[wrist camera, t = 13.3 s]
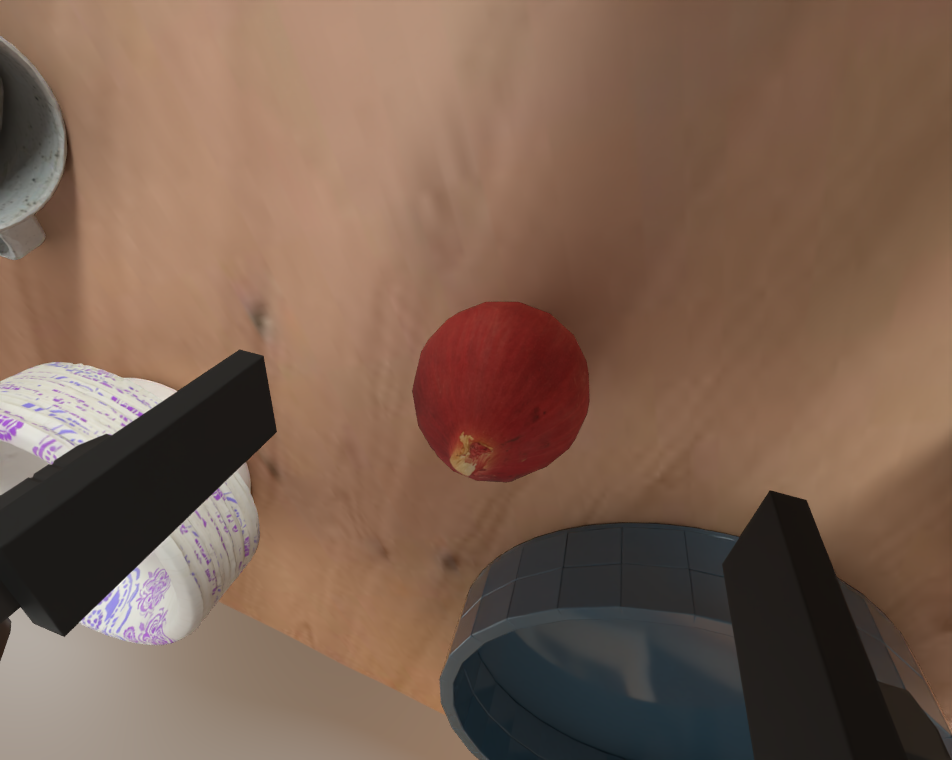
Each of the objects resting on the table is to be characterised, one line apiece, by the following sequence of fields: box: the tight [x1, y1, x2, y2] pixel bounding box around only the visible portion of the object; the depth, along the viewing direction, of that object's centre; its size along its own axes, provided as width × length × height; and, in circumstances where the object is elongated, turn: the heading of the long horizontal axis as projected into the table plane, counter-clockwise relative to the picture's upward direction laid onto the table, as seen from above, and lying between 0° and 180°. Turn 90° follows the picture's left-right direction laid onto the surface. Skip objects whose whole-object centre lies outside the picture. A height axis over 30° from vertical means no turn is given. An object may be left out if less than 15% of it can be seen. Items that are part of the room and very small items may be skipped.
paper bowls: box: [0, 362, 260, 645], centre depth 25 cm, size 15×15×8 cm
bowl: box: [440, 523, 952, 760], centre depth 25 cm, size 24×24×4 cm
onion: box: [412, 302, 589, 482], centre depth 16 cm, size 6×6×8 cm
